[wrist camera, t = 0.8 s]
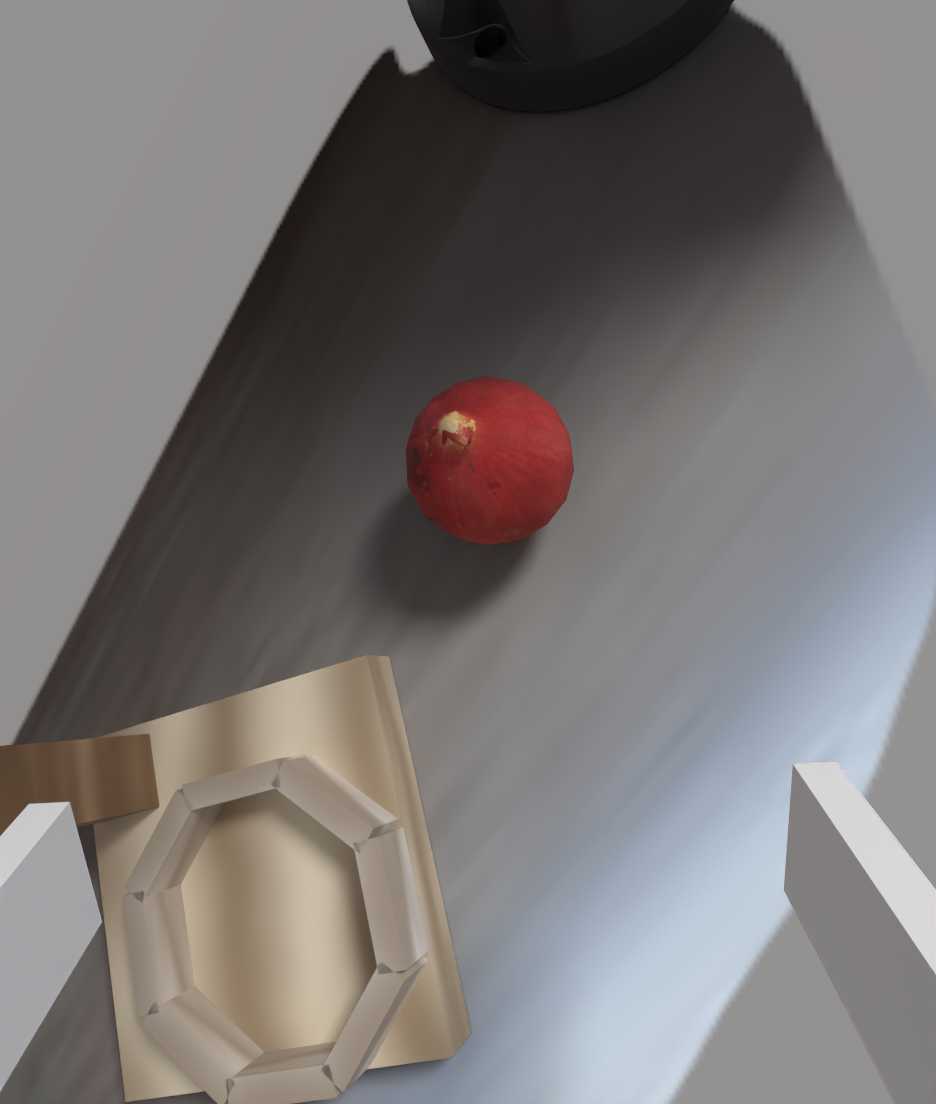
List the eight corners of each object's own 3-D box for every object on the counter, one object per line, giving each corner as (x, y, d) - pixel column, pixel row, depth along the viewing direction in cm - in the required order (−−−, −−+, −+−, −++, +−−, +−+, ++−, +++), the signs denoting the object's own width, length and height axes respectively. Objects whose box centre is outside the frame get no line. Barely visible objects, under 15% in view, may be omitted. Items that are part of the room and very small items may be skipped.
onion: (455, 568, 31) (364, 532, 24) (444, 432, 32) (353, 357, 25) (599, 547, 29) (548, 500, 22) (581, 404, 30) (527, 313, 23)
